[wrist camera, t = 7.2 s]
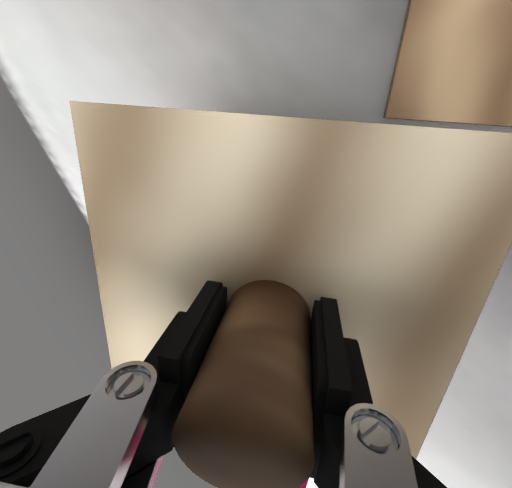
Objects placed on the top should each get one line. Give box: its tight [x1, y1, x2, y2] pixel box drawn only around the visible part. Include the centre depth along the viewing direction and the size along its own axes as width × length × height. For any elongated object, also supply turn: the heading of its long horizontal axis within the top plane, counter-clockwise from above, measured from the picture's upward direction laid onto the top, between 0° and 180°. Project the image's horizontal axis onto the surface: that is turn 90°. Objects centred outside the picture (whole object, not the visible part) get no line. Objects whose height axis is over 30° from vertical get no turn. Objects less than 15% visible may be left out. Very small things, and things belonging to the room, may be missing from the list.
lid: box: [70, 101, 512, 488], centre depth 9 cm, size 14×14×6 cm
